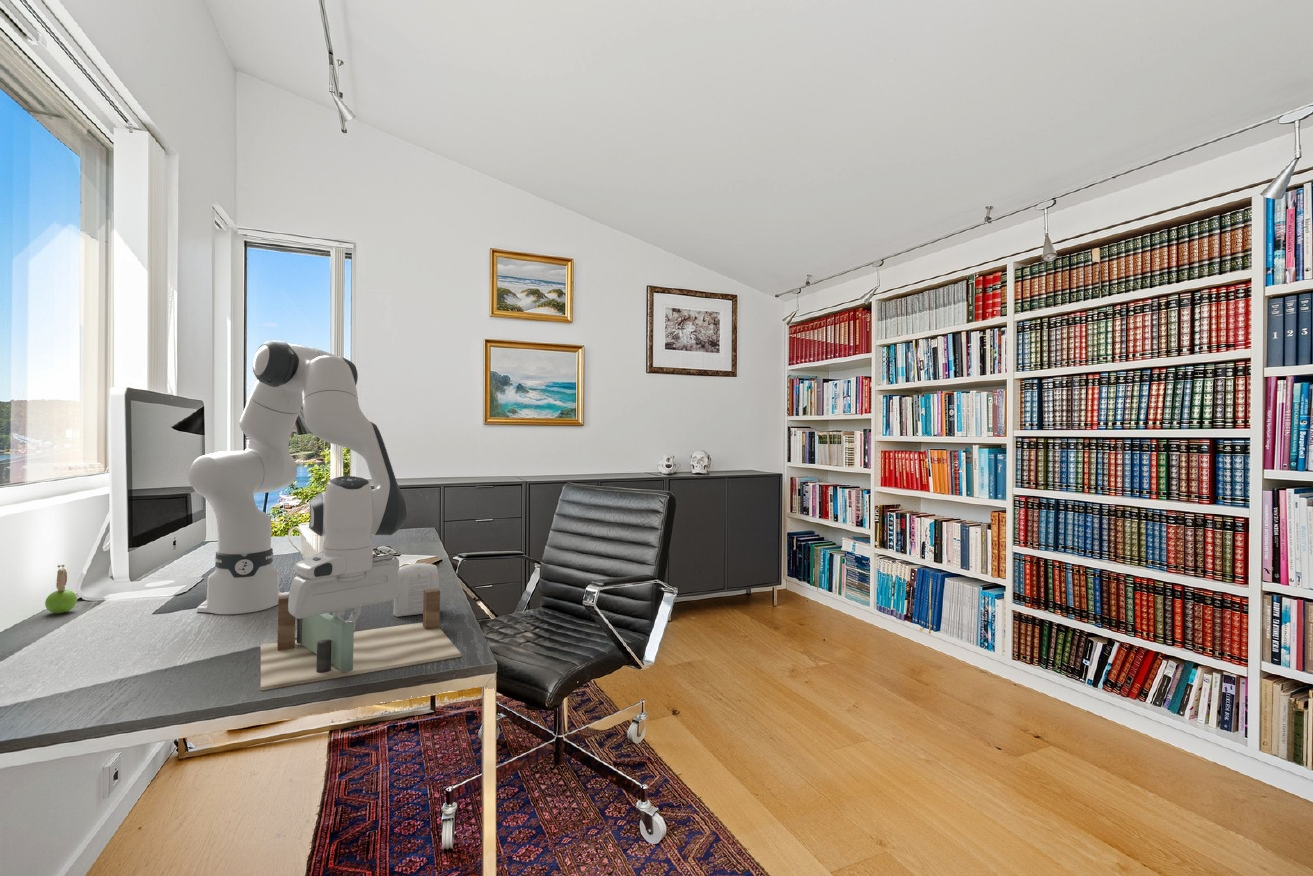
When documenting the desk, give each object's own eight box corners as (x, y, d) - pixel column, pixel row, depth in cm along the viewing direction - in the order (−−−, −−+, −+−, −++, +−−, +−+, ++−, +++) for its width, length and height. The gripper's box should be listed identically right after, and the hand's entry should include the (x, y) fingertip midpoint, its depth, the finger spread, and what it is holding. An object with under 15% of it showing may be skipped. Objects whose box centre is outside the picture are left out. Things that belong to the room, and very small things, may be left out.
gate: (294, 641, 129) (295, 594, 129) (307, 639, 131) (308, 592, 131) (342, 673, 114) (343, 620, 114) (355, 669, 116) (357, 617, 116)
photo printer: (434, 608, 159) (435, 560, 159) (439, 612, 156) (440, 563, 156) (391, 614, 154) (392, 564, 153) (395, 618, 150) (396, 567, 150)
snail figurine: (43, 619, 142) (44, 566, 142) (45, 612, 147) (46, 561, 147) (76, 614, 146) (77, 563, 146) (77, 608, 151) (78, 558, 150)
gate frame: (260, 647, 129) (261, 594, 129) (433, 623, 147) (434, 577, 147) (260, 690, 109) (261, 627, 108) (461, 656, 127) (462, 602, 127)
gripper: (391, 550, 132) (390, 615, 132) (285, 565, 116) (284, 639, 117) (406, 555, 128) (405, 622, 128) (298, 571, 112) (297, 647, 113)
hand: (346, 630), depth 122 cm, fingers closed
